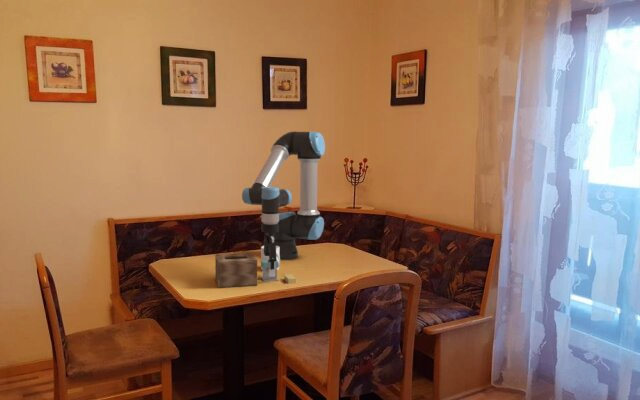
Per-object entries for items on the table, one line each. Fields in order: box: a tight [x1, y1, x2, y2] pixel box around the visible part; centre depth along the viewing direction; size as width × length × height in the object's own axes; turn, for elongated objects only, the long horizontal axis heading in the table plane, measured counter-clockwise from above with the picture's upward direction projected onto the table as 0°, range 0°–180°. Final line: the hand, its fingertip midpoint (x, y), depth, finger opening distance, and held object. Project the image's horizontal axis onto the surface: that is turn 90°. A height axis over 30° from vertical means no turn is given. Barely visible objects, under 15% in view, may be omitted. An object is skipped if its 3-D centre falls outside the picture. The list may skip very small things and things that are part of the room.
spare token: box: [283, 273, 297, 285], centre depth 223 cm, size 7×3×2 cm, turn 18°
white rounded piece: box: [260, 245, 281, 271], centre depth 241 cm, size 9×12×11 cm
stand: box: [260, 267, 279, 282], centre depth 226 cm, size 6×6×6 cm
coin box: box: [214, 252, 258, 289], centre depth 219 cm, size 16×13×11 cm
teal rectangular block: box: [260, 260, 279, 268], centre depth 225 cm, size 7×3×2 cm, turn 106°
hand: (269, 273), depth 226 cm, fingers open, 9 cm apart
